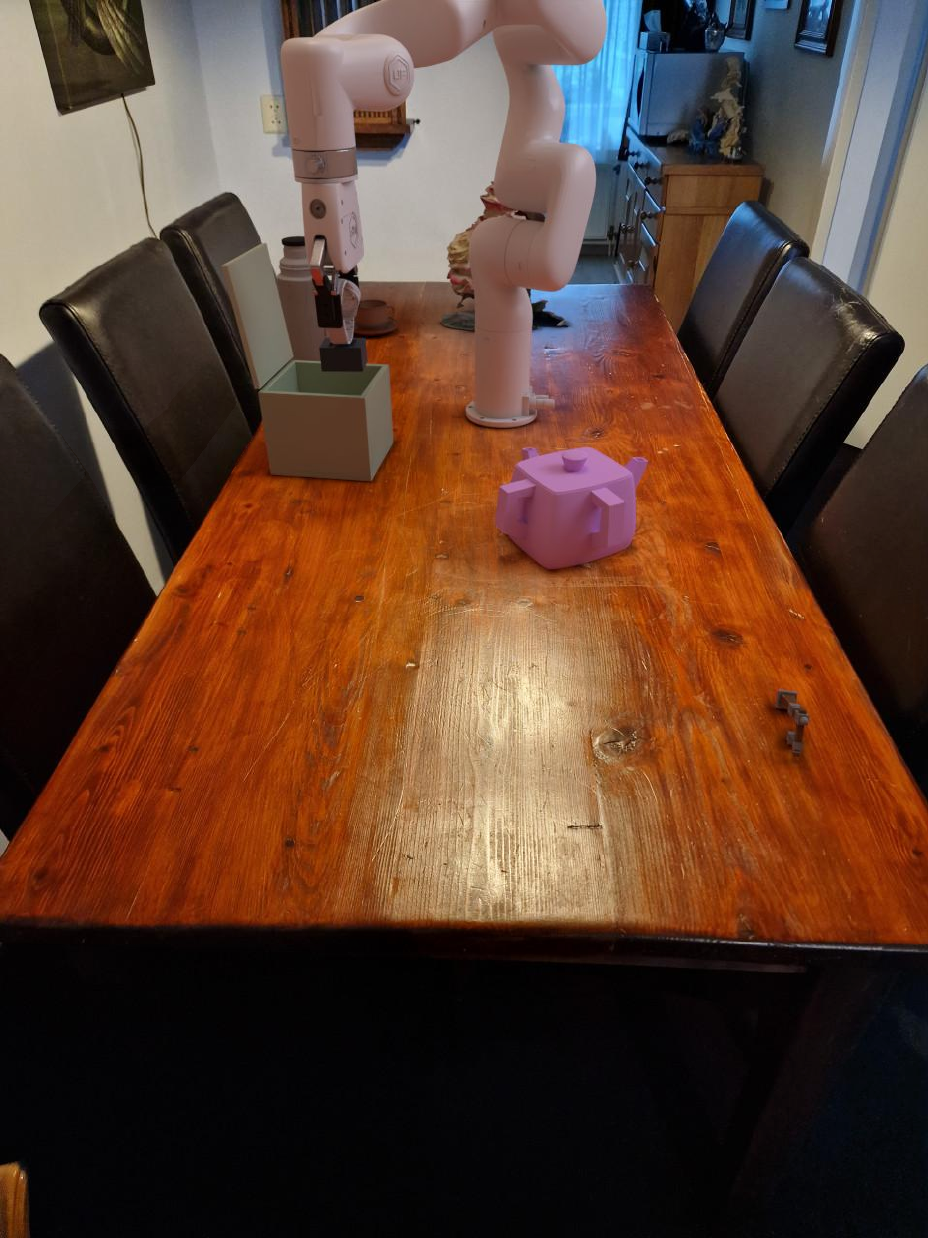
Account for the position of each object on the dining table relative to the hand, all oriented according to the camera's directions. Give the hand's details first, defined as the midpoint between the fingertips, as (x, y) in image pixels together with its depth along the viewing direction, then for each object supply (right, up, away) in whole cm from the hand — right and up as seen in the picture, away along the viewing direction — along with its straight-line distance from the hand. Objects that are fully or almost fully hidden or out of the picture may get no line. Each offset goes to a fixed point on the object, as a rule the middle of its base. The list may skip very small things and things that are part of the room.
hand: (340, 316), depth 106 cm
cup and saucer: (-5, +26, +79) cm, 83 cm away
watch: (0, -5, +4) cm, 7 cm away
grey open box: (-4, -14, +23) cm, 27 cm away
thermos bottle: (-11, -1, +42) cm, 43 cm away
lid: (-13, +4, +11) cm, 18 cm away
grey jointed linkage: (+47, -50, -28) cm, 75 cm away
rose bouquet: (+24, +30, +85) cm, 94 cm away
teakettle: (+30, -29, +2) cm, 42 cm away
